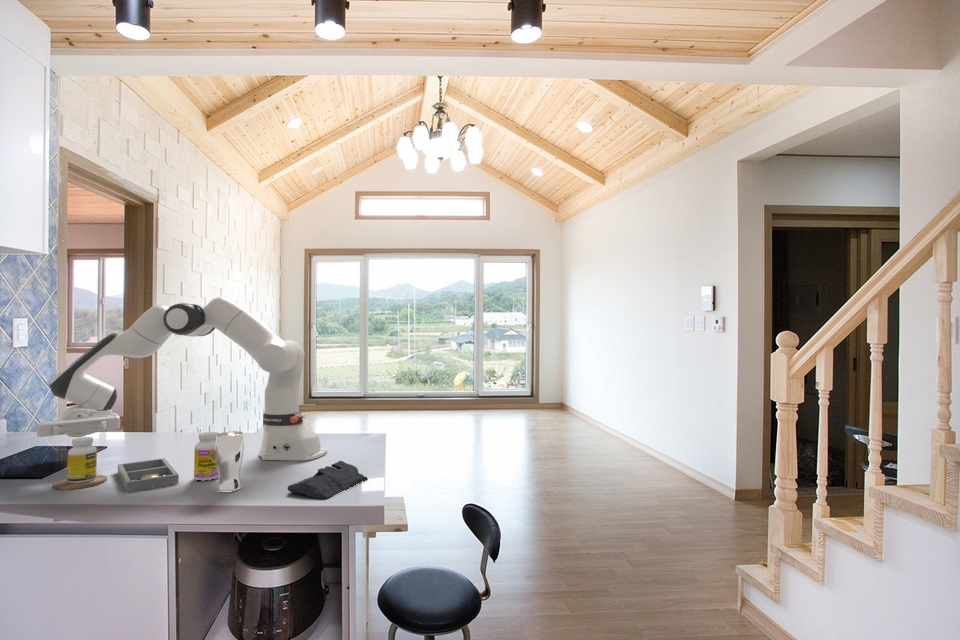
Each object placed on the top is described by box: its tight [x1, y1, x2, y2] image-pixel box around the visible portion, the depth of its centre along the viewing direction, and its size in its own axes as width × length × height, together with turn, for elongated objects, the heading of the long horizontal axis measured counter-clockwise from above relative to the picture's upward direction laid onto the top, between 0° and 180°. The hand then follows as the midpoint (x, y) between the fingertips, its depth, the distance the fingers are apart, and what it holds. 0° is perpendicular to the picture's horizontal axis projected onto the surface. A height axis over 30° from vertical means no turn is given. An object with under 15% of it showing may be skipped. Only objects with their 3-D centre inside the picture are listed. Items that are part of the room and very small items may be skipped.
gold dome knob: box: [140, 474, 159, 480], centre depth 146 cm, size 4×4×2 cm
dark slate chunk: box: [287, 460, 369, 500], centre depth 145 cm, size 15×22×5 cm
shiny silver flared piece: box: [215, 430, 245, 492], centre depth 141 cm, size 7×7×15 cm
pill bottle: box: [66, 436, 98, 483], centre depth 146 cm, size 6×6×12 cm
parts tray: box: [117, 457, 180, 493], centre depth 151 cm, size 23×12×2 cm, turn 39°
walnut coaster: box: [52, 474, 108, 491], centre depth 145 cm, size 12×12×1 cm
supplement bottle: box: [193, 431, 218, 481], centre depth 151 cm, size 7×7×13 cm
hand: (81, 429), depth 155 cm, fingers open, 8 cm apart
